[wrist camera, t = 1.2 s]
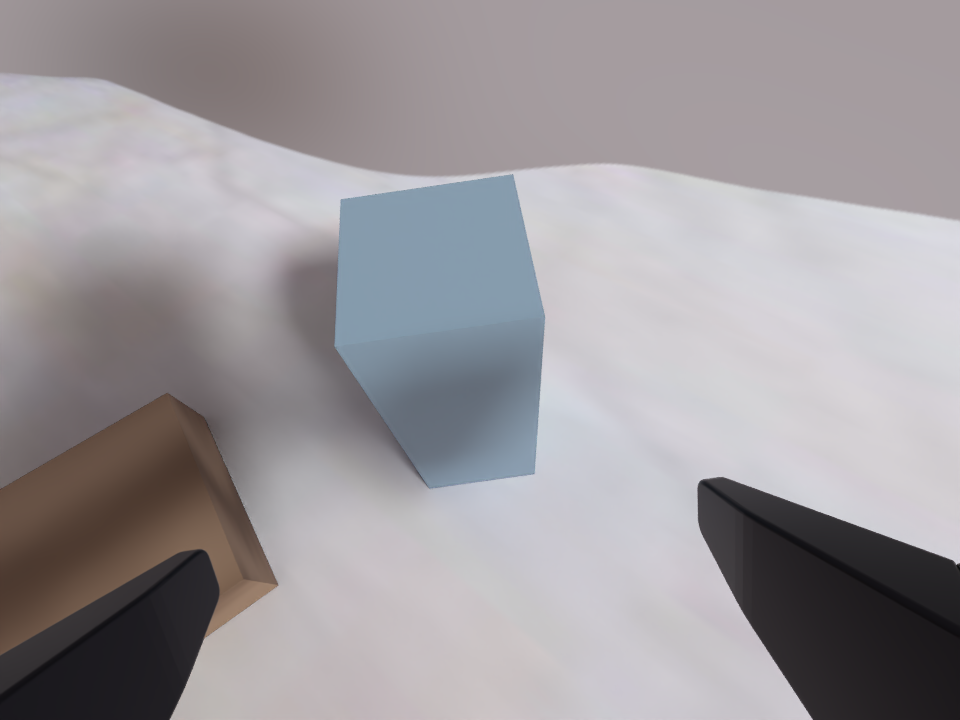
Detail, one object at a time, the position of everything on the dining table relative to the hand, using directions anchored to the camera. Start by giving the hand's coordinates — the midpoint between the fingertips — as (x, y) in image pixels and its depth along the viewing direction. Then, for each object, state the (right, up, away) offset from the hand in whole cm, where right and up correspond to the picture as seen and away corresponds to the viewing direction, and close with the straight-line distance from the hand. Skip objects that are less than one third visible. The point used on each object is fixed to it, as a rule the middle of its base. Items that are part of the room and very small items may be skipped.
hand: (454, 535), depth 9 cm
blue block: (0, 0, +15) cm, 15 cm away
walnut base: (-15, -6, +13) cm, 21 cm away
